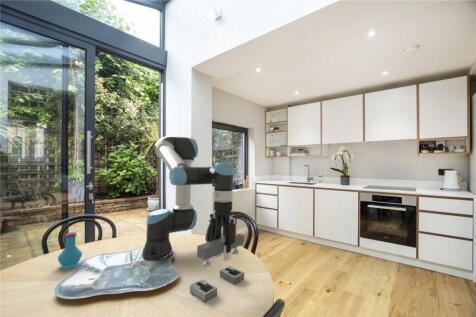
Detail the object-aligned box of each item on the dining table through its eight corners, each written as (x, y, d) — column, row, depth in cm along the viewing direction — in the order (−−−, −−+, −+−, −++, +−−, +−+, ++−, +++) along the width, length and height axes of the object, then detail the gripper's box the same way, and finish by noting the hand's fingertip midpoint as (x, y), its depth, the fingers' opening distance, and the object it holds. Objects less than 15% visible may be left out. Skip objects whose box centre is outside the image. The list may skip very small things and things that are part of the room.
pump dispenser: (215, 240, 141) (215, 217, 141) (225, 245, 133) (226, 220, 133) (201, 244, 134) (202, 219, 134) (211, 250, 126) (212, 223, 126)
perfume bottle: (83, 265, 105) (84, 233, 105) (59, 271, 98) (60, 238, 98) (79, 258, 111) (80, 229, 111) (55, 264, 104) (57, 233, 105)
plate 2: (219, 277, 97) (219, 270, 97) (229, 272, 101) (229, 265, 101) (234, 285, 91) (234, 277, 91) (244, 279, 95) (244, 272, 95)
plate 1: (189, 292, 85) (190, 284, 85) (201, 286, 89) (202, 279, 89) (204, 303, 79) (205, 294, 79) (217, 295, 83) (217, 287, 83)
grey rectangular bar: (196, 266, 82) (197, 244, 82) (236, 249, 99) (236, 231, 99) (204, 270, 79) (205, 247, 79) (243, 252, 96) (243, 234, 96)
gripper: (202, 199, 92) (201, 254, 92) (232, 204, 81) (231, 268, 80) (215, 197, 98) (214, 249, 98) (245, 202, 86) (244, 261, 86)
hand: (222, 258), depth 89 cm, fingers closed on grey rectangular bar, 4 cm apart
